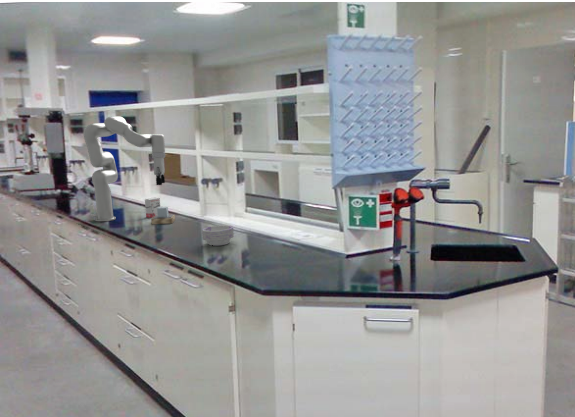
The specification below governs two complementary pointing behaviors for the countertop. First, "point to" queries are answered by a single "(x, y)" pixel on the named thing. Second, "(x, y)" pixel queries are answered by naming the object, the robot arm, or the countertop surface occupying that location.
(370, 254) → the countertop surface
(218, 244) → the paper bowls
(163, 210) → the cube
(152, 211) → the ink box
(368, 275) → the countertop surface
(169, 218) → the maple stand
